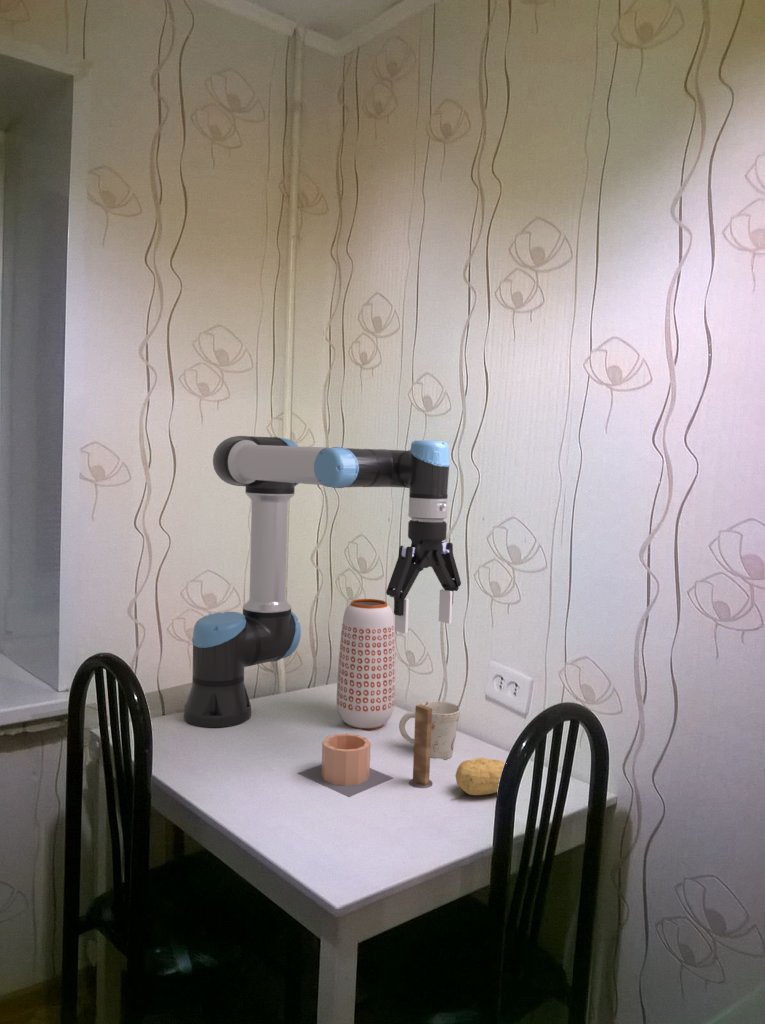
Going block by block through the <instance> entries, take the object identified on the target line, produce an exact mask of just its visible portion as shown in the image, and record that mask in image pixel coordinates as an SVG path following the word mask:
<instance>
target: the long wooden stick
mask: <svg viewBox="0 0 765 1024" xmlns="http://www.w3.org/2000/svg"><path fill="white" fill-rule="evenodd" d="M414 712H415V718H414V737H413V739H414V743H413V760H412V761H413V763H412V764H413V765H412V778H411V779H409V781H408V783H409V785H410V786H411V787H413V788H416V789H428V788H430V787H432V786H433V781H432V780H431V779H430V768H431V757H430V749H431V724H432V708H430V707H426V706H423V705H421V704H417V705H415V711H414Z"/></svg>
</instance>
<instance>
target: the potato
mask: <svg viewBox="0 0 765 1024" xmlns="http://www.w3.org/2000/svg"><path fill="white" fill-rule="evenodd" d="M504 763H506V762H505V761H503V760H499V759H492V758H486V757H477V758H473V759H465V760H463V761H462V762H461V763H459V765H458V767H457V768H456V771H455V780H456V784H457V786H459V787H460V788H461V790H462V791H463V792H465V793H466V794H468V795H470V796H484V795H490V794H491V795H492V794H495V793H498V792H497V789H498V784H499V779H500V776H501V773H502V769H503V766H504Z"/></svg>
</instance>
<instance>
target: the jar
mask: <svg viewBox="0 0 765 1024" xmlns="http://www.w3.org/2000/svg"><path fill="white" fill-rule="evenodd" d="M321 744H322V749H321V751H322V752H321V764H322V777H323V779H324V780H325V781H327V782H329V783H332V784H336V785H343V786H348V785H358V784H360V783H363V782H365V781H367V779H368V777H369V775H370V768H371V767H370V766H371V746H372V745H371V741H370V740H369V738H367V737H365V736H362V735H359V734H353V733H340V734H339V733H338V734H337V733H336V734H333V735H330V736H329V735H328V736H327V737H325V738H324V739H323V741H322V743H321Z"/></svg>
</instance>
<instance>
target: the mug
mask: <svg viewBox="0 0 765 1024" xmlns="http://www.w3.org/2000/svg"><path fill="white" fill-rule="evenodd" d="M420 705H423V706H426V707H430V708H432V724H431V749H430V759H439V760H440V759H442V760H448V759H451V758H453V757H452V756H453V753H454V748H455V743H456V742H455V741H456V736H457V730H458V724H459V719H460V713H461V708H460V706H458V705H457V704H456V703H453V702H448V701H444V700H430V701H425V702H423V703H421V704H420ZM413 718H414V719H415V711H408V712H406V713H405V714H403V716H402V717H401V719H400V721H399V724H398V728H399V732H400V735H401V737H402V738H404V739H405V740H406V741H407V742H409V743H411V744H414V738H411V737H410V736H409V734H408V732H407V730H406V724H407V722H408V721H409V720H410V719H413Z"/></svg>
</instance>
